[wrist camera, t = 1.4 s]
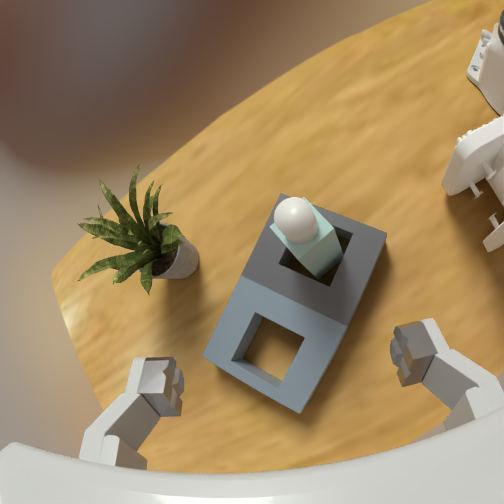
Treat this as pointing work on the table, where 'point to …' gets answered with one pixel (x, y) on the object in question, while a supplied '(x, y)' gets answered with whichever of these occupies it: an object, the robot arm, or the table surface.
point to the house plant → (142, 241)
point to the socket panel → (294, 309)
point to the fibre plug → (307, 235)
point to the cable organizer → (480, 169)
